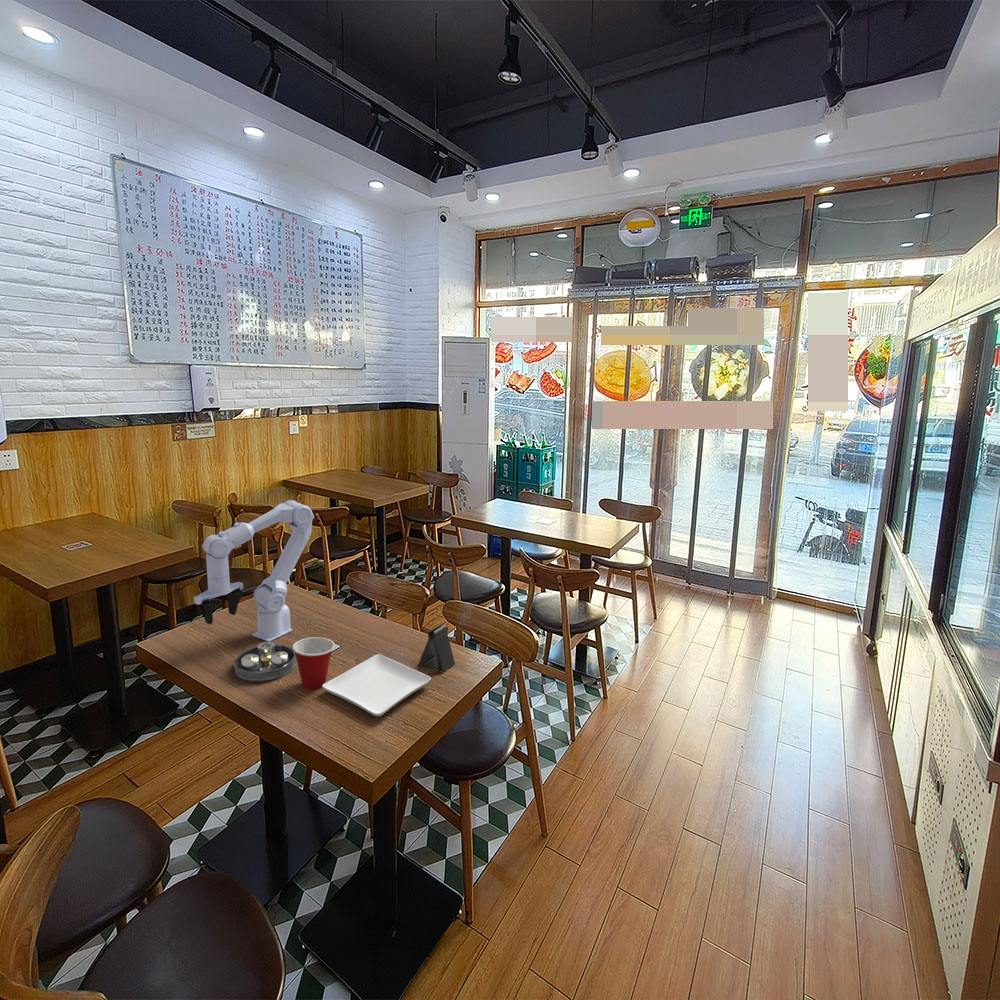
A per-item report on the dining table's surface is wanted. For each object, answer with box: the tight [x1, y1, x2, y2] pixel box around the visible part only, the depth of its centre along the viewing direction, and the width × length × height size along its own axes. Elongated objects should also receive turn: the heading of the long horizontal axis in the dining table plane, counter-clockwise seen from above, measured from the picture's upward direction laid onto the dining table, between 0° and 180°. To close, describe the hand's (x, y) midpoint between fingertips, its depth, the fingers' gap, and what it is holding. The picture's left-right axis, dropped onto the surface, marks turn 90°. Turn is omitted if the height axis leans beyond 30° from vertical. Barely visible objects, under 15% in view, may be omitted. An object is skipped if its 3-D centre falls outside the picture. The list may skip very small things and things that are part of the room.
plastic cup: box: [292, 636, 336, 691], centre depth 145 cm, size 11×11×12 cm
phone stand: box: [418, 623, 456, 673], centre depth 159 cm, size 9×6×12 cm, turn 60°
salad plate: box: [322, 653, 432, 717], centre depth 145 cm, size 21×21×3 cm
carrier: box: [233, 643, 297, 683], centre depth 153 cm, size 16×16×5 cm
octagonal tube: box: [256, 641, 275, 659], centre depth 157 cm, size 4×4×3 cm
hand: (221, 618), depth 160 cm, fingers open, 7 cm apart
